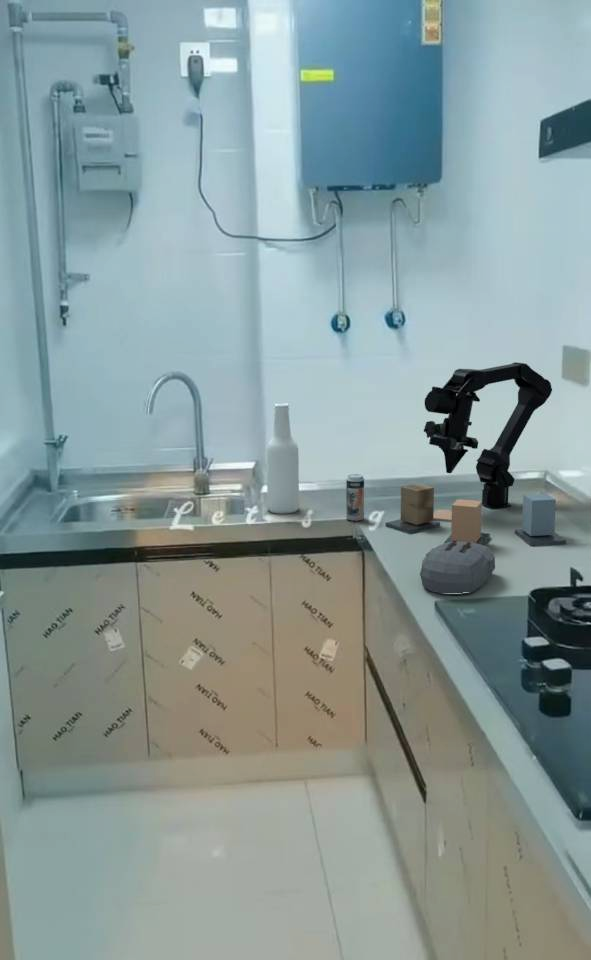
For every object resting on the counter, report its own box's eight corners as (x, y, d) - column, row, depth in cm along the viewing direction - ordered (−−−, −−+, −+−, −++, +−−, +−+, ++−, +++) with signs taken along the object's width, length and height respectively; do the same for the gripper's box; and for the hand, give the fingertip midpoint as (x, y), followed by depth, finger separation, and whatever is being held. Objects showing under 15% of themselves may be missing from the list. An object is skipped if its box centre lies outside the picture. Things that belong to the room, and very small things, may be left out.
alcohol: (271, 505, 268) (269, 401, 261) (301, 506, 266) (300, 401, 259) (264, 513, 259) (262, 406, 252) (295, 515, 258) (294, 406, 251)
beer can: (343, 520, 252) (343, 476, 249) (350, 516, 256) (350, 473, 253) (359, 522, 249) (359, 478, 247) (367, 518, 254) (367, 474, 251)
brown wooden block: (417, 516, 250) (417, 483, 248) (433, 520, 245) (434, 487, 243) (400, 520, 247) (401, 486, 244) (416, 524, 242) (417, 491, 240)
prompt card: (437, 511, 259) (437, 509, 259) (470, 514, 256) (470, 512, 256) (429, 519, 251) (429, 517, 251) (462, 523, 248) (462, 520, 248)
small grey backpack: (436, 564, 215) (407, 592, 198) (437, 530, 213) (408, 555, 196) (502, 573, 209) (477, 603, 191) (503, 537, 207) (479, 564, 190)
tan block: (456, 534, 234) (457, 499, 231) (480, 536, 231) (481, 501, 229) (451, 540, 228) (452, 505, 226) (475, 543, 226) (476, 507, 224)
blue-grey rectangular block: (521, 529, 237) (523, 494, 235) (544, 527, 238) (546, 493, 236) (530, 536, 231) (532, 500, 229) (554, 534, 232) (555, 499, 230)
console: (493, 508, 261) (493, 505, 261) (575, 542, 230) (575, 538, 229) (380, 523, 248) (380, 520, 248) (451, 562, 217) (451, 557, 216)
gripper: (447, 412, 264) (437, 466, 266) (417, 409, 249) (406, 467, 251) (483, 419, 258) (473, 474, 260) (454, 417, 243) (444, 476, 245)
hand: (448, 473), depth 254 cm, fingers closed
